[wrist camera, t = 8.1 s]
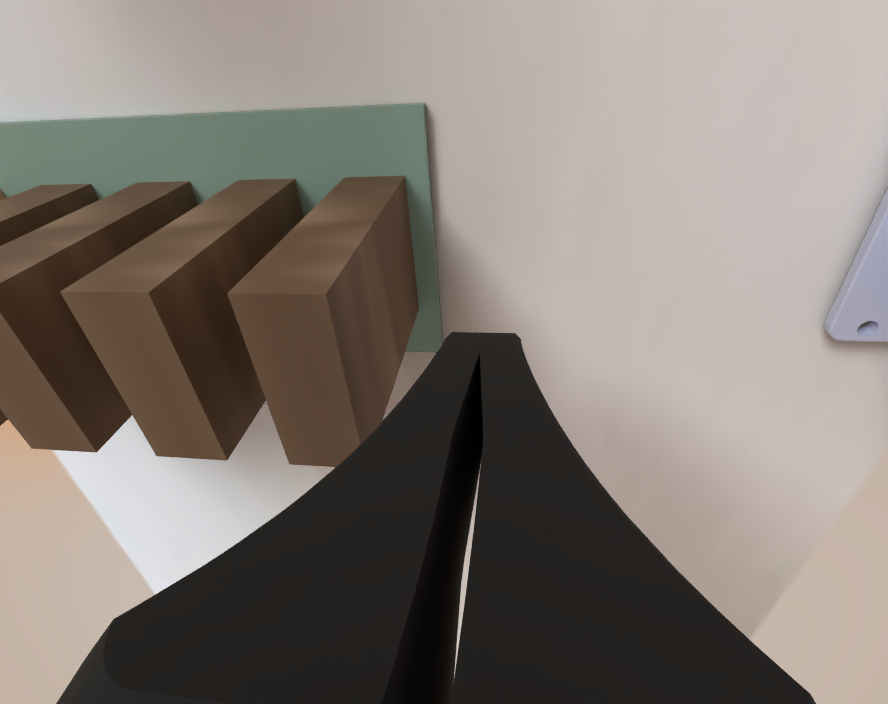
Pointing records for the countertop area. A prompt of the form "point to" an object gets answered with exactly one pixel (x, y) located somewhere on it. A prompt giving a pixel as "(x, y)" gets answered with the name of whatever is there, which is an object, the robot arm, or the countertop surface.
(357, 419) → the domino
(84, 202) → the domino
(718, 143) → the countertop surface
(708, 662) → the robot arm
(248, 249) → the domino
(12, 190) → the mat
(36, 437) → the domino
